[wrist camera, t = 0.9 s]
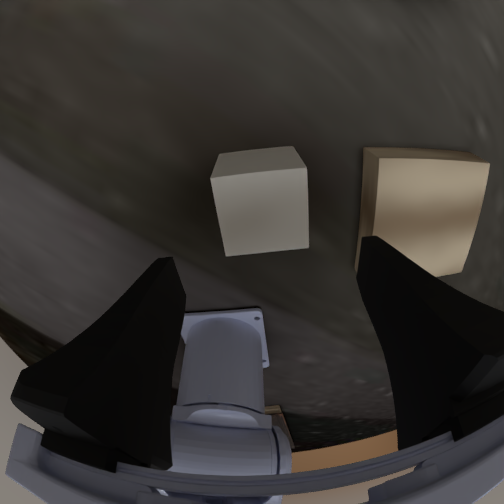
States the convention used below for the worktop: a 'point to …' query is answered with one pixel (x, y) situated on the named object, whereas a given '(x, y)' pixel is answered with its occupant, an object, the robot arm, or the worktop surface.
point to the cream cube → (261, 200)
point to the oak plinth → (422, 203)
